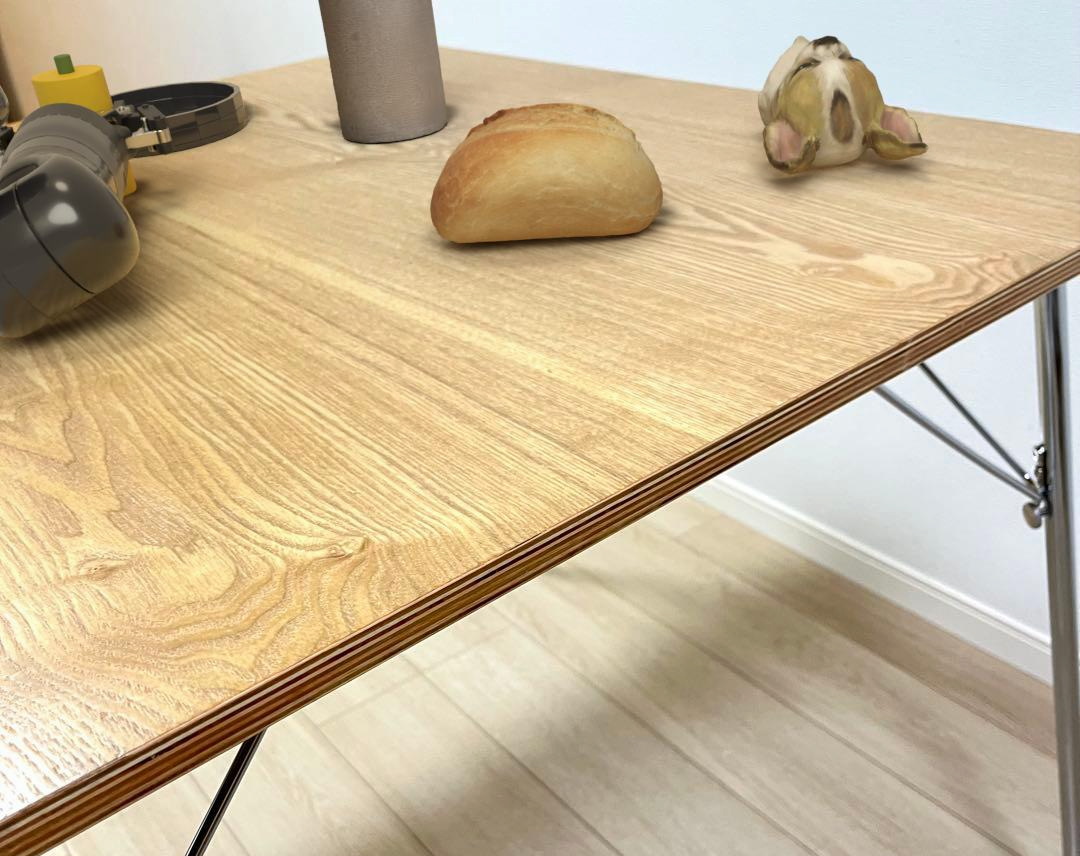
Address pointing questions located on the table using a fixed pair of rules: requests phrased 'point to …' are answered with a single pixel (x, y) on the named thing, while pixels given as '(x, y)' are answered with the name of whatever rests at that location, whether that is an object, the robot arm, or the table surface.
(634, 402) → the table surface
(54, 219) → the robot arm
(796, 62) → the ceramic sculpture
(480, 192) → the bread roll
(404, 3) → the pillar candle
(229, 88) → the pan
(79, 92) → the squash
